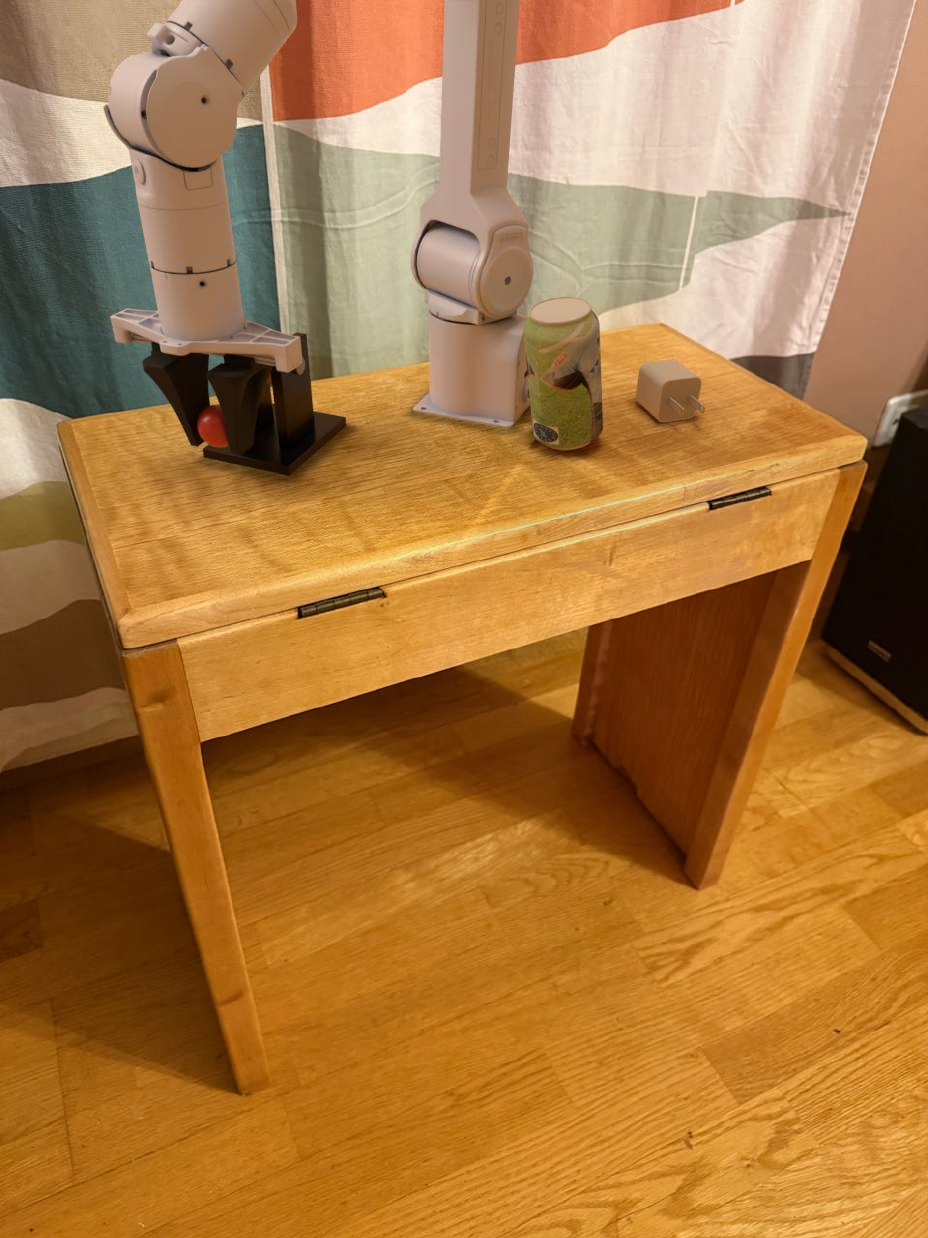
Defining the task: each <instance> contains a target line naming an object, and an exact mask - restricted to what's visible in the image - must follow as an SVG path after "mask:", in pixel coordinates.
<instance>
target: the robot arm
mask: <svg viewBox="0 0 928 1238" xmlns="http://www.w3.org/2000/svg"><path fill="white" fill-rule="evenodd" d="M520 5H521V0H444V5H443V7H444V9H443V10H444V12H443V41H442V45H443V46H442V73H441V75H442V79H441V106H440V107H441V109H440V143H439V176H438V177H439V179H438V186H437V187H436V189H435V190H434V191H433V192H432V193H431V194H430V195H429V196H428V197H427V198H426V199H425V200H424V201H423V203H422V204H421V206H420V208H419V213H420V215H419V216H420V217H419V226H418V230H417V233H416V236H415V238H414V240H413V243H412V248H411V252H410V270H411V273H412V277H413V278H414V281H415V282H416V284H417V285H418V286H419V287H420V288H421V289H422V290H424V303H425V304H427V305H428V364H429V365H428V368H429V369H428V370H429V371H428V373H429V374H428V375H429V377H428V382H429V383H428V384H429V386H428V387H429V392H428V393H427V394H426V395H425V396H423V398H421V400H419V401H418V403H416V404H415V405H414V406H413V408H412V409H413V412H416V413H421V414H426V415H432V416H437V417H442V418H443V417H444V418H448V419H454V420H459V421H464V422H465V421H466V422H471V423H476V424H482V425H487V426H492V427H497V428H504V429H511V428H513V427H514V425H515V424H516V423H517V422H518V420H519V419H520V418H521V416H522V415H523V414H525V412H526V410H528V408H529V407H530V395H529V384H528V373H527V362H526V352H525V341H524V326H525V323H526V321H527V320H528V318H529V316H526V315H523V314H520V313H518V309H519V308H520V307H521V306H522V305H523V303H524V302H525V299H526V298H527V296H528V294H529V292H530V289H531V286H532V283H533V275H534V264H533V259H532V255H531V251H530V248H529V228H530V227H529V225H530V224H529V222H528V220H527V218H526V216H525V214H524V213H523V211H521V209H520V208H519V205H518V204H517V203H516V201H515V199H514V198H513V197H512V195H511V194H510V192H509V191H508V178H509V177H508V176H509V175H508V174H509V164H510V163H509V161H510V147H511V134H512V133H511V132H512V119H513V106H514V89H515V78H516V77H515V76H516V75H515V74H516V61H517V48H518V35H519V33H518V32H519V18H520ZM297 24H298V11H297V0H181V1H180V3H179V4H178V6H176V8H175V10H174V11H173V12H172V13H171V15H170V16H169V17H168V19H167V20H166V21H165V23H160V22H155V23H154V24H153V25H152V27H151V28H150V29H149V30H148V32H147V34H146V37H147V39H148V40H149V41H150V51H142V52H139V53H138V54H134V53H133V54H131V55H129V56H127V58H125V59H123V60H122V61H121V62H120V64H118V65H117V67H116V68H115V70H114V72H113V74H112V76H111V78H110V82H109V85H108V87H109V88H111V92H110V94H109V93H108V95H107V96H108V97H107V98H108V102H107V104H104V105H103V112H104V116H105V118H106V121H107V123H108V126H109V127H110V129H111V131H112V133H114V135H115V137H117V139H118V140H119V141H120V142H121V143H122V144H123V145H124V146H125V147H126V148H127V150H128V155H129V159H130V164H131V170H132V176H133V180H134V187H135V195H136V201H137V206H138V212H139V217H140V223H141V228H142V232H143V239H144V243H145V250H146V255H147V259H148V260H147V261H148V265H149V270H150V275H151V280H152V286H153V292H154V299H155V303H156V308H157V310H149V309H147V310H146V309H137V308H136V309H134V308H128V307H126V308H124V309H123V310H120V311H119V312H116V313H114V314H112V315H110V316H109V318H110V321H111V327H112V332H113V336H114V340H115V341H114V342H116V343H119V344H124V345H127V344H130V343H132V342H135V343H141V344H147V345H151V350H150V354H149V356H146V357H145V358H144V359H143V360H142V361H141V364H142V369H143V372H144V373H145V374H146V375H147V376H148V377H149V378H150V379H151V380H152V381H153V383H154V384H156V386H157V387H158V388H159V390H160V392H161V393H162V394H163V395H164V396H165V399H166V400H167V401H168V403H169V404H170V406H171V408H172V410H173V412H174V414H175V415H176V417H177V419H178V420H179V423H180V425H181V427H182V429H183V431H184V434H185V436H186V438H187V440H188V442H189V444H190V446H192V447H196V448H197V447H200V446H201V445H202V444H204V443H206V442H205V441H204V440H203V439H202V438H201V437H200V435H199V433H198V429H197V420H198V417H199V415H200V413H201V412H202V411H203V410H204V409H205V408H206V407H208V406H210V405H211V401H210V393H209V384H210V386H211V388H212V390H213V393H214V394H215V396H216V399H217V402H218V404H220V407H221V411H222V414H223V418H224V423H225V429H226V435H227V440H228V444H229V448H230V450H231V453H232V454H235V455H241V454H243V453H244V452H245V451H247V450H248V449H249V448H250V447H252V446H253V443H254V432H255V424H256V418H257V412H258V407H259V403H260V399H261V396H262V393H263V390H264V387H265V384H266V382H267V379H268V377H269V374H270V372H271V370H272V368H273V366H276V369H277V371H281V372H287V373H289V372H290V371H292V370H293V369H295V368H296V367H298V366H299V365H300V364H302V363H303V362H302V351H301V340H300V337H298V336H293V334H290V333H289V334H288V333H285V332H281V331H278V330H275V329H273V328H270V327H268V326H265V325H262V324H260V323H258V322H254V321H252V320H249V319H246V318H245V317H244V311H243V301H242V294H241V286H240V279H239V271H238V263H237V257H236V249H235V242H234V234H233V226H232V225H233V224H232V218H231V209H230V202H229V195H228V187H227V181H226V172H225V166H224V158H223V154H224V153H225V152H227V151H229V150H230V149H231V148H232V146H233V143H234V141H235V138H236V134H237V128H238V107H239V105H240V103H241V102H242V101H243V100H244V98H245V96H246V95H247V94H248V93H249V91H250V90H251V88H252V87H253V86H254V85H255V83H256V82H257V81H258V79H259V78H260V76H261V75H262V74H263V73H264V71H265V70H266V68H267V67H268V66H269V64H271V62H272V60H274V58H275V56H276V55H277V54H278V53H279V51H280V50H281V49H282V47H283V46H284V44H286V42H287V40H288V39H289V38H290V37H291V35H292V34H293V32H294V31H295V30H296V28H297ZM210 356H214V357H220V358H221V357H222V358H223V362H221V363H219V364H218V365H216V366H214V367H213V368H211V369H209V366H210Z"/></svg>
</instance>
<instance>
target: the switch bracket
mask: <svg viewBox="0 0 928 1238" xmlns="http://www.w3.org/2000/svg"><path fill="white" fill-rule="evenodd" d="M292 335H293V336H298V337H300V340H301V351H302V362H303V363H302V364H300V365H299V366H298V367H296V368H295V369H293V370H292V371H290V372H289V373H287V372H281V371H277V369H276V366H273V368H272V370H271V381H272V384H267V383H266V384H265V387H264V390H263V393H262V396H261V399H260V403H259V407H258V412H257V418H256V424H255V432H254V443H253V446H252V447H250V448H249V449H248V450H247V451H245V452H244V453H243V454H241V455H235V454H232V453H231V450H230V448H229V446H226V447H214V446H211V445H209V444H207V445H206V446H204V447H203V448H202V453H203V458H204V459H209V460H213V461H218V462H223V463H228V464H232V465H237V466H242V467H247V468H250V469H251V468H252V469H255V470H261V471H265V472H270V473H275V474H280V475H282V476H283V475H284V476H291V475H292V474H293V473H294V472H295V471H297V470H298V469H299V468H300V467H301V466H302V465H303V464H305V463H306V462H307V461H308V460H309V459H310V458H312V457H313V456H314V455H315V454H317V452H318V451H319V450H320V449H322V448H323V447H324V446H326V444H327V443H328V442H330V441H331V440H332V439H333V438H334V437H335V436H336V435H338V434H339V433H340V432H342V430H343V429H344V428H346V427H347V417H346V416H341V415H336V414H331V413H327V412H321V411H317V410H314V401H313V391H312V390H313V389H312V377H311V367H310V357H309V346H308V334H307V333H304V332H303V333H302V332H294V333H293V334H292ZM271 388H272V389H271ZM272 396H273V397H272Z"/></svg>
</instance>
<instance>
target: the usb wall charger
mask: <svg viewBox="0 0 928 1238" xmlns="http://www.w3.org/2000/svg"><path fill="white" fill-rule="evenodd" d="M702 384H703V382H702V379H701V378H700V377H699V376H698V375H696V374H695V373H693V371H691V370H690V369H688V368H687V367H685V366H684V365H683V364H682V363H680V362H679V361H678V360H676V359H675V358H671V359H663V360H654V361H646V362H643V364H641V366H640V367H639V369H638V375H637V382H636V391H635V401H636V402H637V404H639V405H640V406H641V407H642V408H643V409H645V410H646V411H647V412H648V413H649V414H650V415H651V416H653V417H654V418H655V419H656V420H657V421H658V422H659V423H670V422H677V421H685V420H690V419H692V418H693V417H695V415H696V414H697V412H699V413H701V414H702V415H703V414H705V411H706V406H705V405H704V404H703V403H702V402H701V401H700V394H701V389H702Z"/></svg>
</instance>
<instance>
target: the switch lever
mask: <svg viewBox="0 0 928 1238" xmlns="http://www.w3.org/2000/svg"><path fill="white" fill-rule="evenodd" d="M266 383H267V384H270V385H272V381H271V372H270V374H269V377H268V379H267V382H266ZM197 429H198V433H199V435H200V437H201V438H202V439H203V440H204V441H205V442H204V443H206V444H207V445H208V444H209V445H211V446H214V447H226V446H229V444H228V440H227V435H226V429H225V423H224V418H223V414H222V411H221V407H220V404H219V403H217V404H216V403H215V404H210V406H208V407H206V408H205V409H204V410H203V411H202V412H201V413H200V415H199V417H198V420H197Z"/></svg>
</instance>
